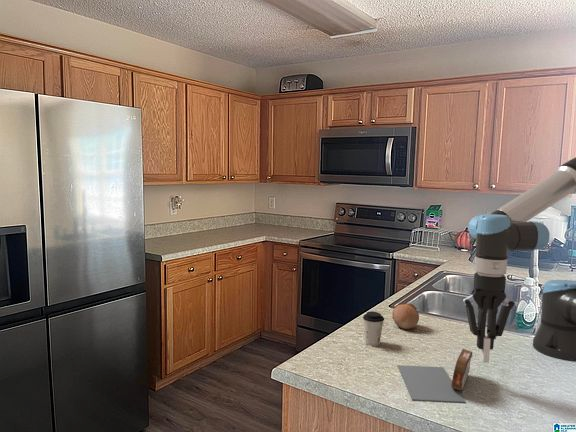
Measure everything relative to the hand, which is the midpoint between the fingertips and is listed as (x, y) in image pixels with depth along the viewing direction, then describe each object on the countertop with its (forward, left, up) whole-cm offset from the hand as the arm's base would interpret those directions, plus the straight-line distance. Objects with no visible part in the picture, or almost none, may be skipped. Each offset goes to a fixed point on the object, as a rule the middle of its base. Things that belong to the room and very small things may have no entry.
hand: (484, 360), depth 114 cm
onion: (+12, -42, -7) cm, 44 cm away
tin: (+6, 0, -7) cm, 9 cm away
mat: (+14, 0, -7) cm, 16 cm away
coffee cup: (+26, -26, -7) cm, 37 cm away
